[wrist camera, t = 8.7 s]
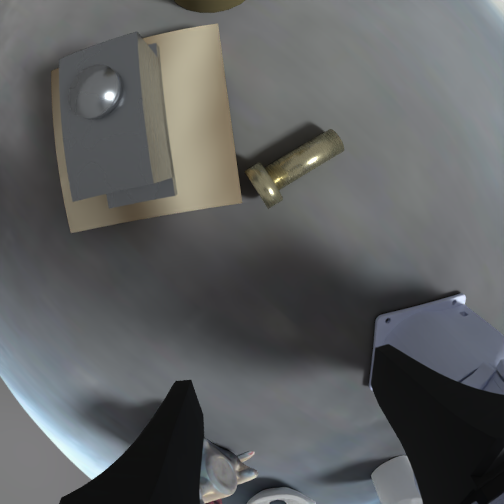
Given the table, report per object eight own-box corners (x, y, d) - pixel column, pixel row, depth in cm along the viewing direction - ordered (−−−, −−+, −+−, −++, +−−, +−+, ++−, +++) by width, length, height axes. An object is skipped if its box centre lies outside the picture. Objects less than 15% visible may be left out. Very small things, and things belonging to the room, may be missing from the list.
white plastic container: (436, 518, 18) (444, 520, 19) (402, 450, 29) (414, 460, 31) (389, 542, 19) (403, 542, 20) (363, 474, 30) (379, 481, 32)
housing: (177, 194, 17) (154, 209, 12) (113, 206, 17) (71, 226, 11) (159, 47, 14) (132, 8, 9) (97, 65, 14) (53, 38, 9)
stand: (219, 35, 16) (217, 23, 14) (241, 198, 19) (242, 203, 17) (65, 76, 15) (51, 71, 14) (84, 226, 19) (70, 233, 17)
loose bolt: (322, 123, 18) (335, 119, 15) (342, 158, 19) (357, 159, 16) (243, 170, 18) (245, 172, 16) (265, 204, 19) (270, 212, 17)
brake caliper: (100, 448, 23) (130, 524, 13) (171, 381, 28) (233, 429, 18) (174, 497, 26) (226, 559, 16) (234, 438, 31) (304, 483, 21)
